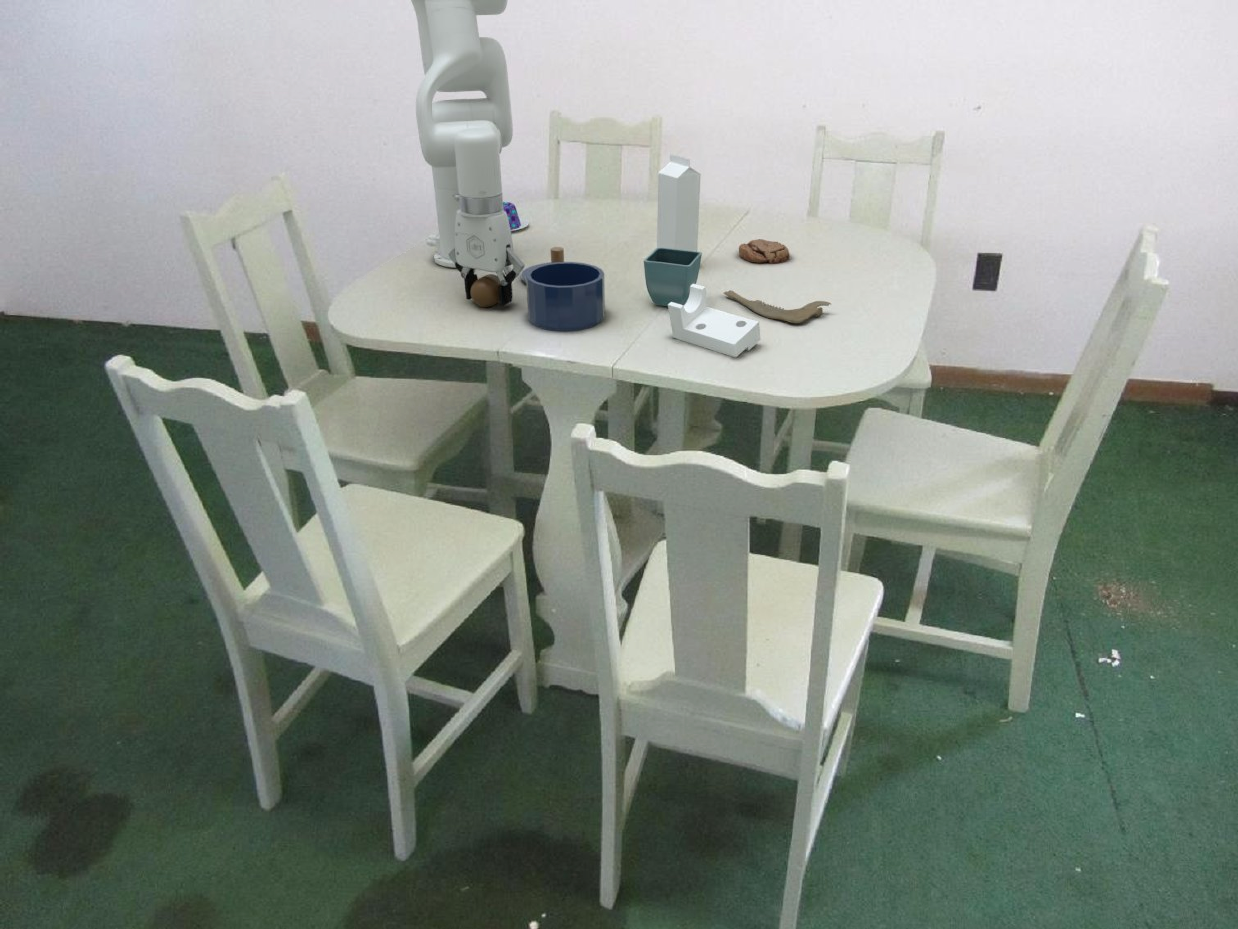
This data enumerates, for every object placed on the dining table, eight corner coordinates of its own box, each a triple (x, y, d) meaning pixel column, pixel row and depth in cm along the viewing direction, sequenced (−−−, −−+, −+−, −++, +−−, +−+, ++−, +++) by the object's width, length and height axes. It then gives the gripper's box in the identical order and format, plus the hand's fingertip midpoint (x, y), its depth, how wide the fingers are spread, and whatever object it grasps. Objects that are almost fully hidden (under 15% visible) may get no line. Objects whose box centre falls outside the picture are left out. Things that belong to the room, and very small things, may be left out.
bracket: (673, 342, 156) (667, 304, 151) (698, 320, 159) (693, 283, 154) (736, 362, 148) (732, 323, 143) (760, 339, 152) (757, 301, 147)
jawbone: (816, 332, 158) (817, 321, 157) (706, 314, 166) (706, 304, 165) (830, 311, 164) (831, 300, 163) (724, 295, 173) (724, 285, 171)
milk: (674, 273, 184) (677, 161, 173) (656, 265, 188) (657, 155, 177) (697, 267, 187) (701, 156, 176) (678, 259, 191) (681, 151, 180)
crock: (513, 323, 161) (511, 279, 157) (553, 299, 171) (552, 257, 167) (580, 336, 155) (579, 292, 151) (617, 310, 166) (617, 268, 162)
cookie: (791, 264, 188) (792, 250, 187) (740, 264, 189) (741, 249, 187) (785, 249, 197) (787, 236, 195) (736, 249, 197) (737, 235, 196)
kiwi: (490, 313, 165) (488, 284, 162) (466, 308, 167) (463, 280, 164) (514, 299, 171) (512, 271, 168) (490, 295, 173) (488, 267, 170)
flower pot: (700, 297, 172) (702, 251, 167) (688, 313, 164) (690, 265, 160) (656, 292, 174) (657, 246, 169) (642, 308, 167) (642, 260, 162)
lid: (507, 284, 178) (505, 253, 175) (545, 263, 189) (544, 234, 186) (571, 296, 172) (570, 264, 169) (607, 273, 184) (607, 243, 180)
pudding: (512, 236, 206) (510, 213, 203) (467, 230, 210) (465, 207, 208) (538, 223, 215) (537, 201, 213) (495, 217, 220) (493, 195, 217)
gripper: (428, 202, 160) (439, 299, 169) (511, 214, 153) (517, 314, 162) (453, 193, 166) (462, 287, 175) (534, 204, 159) (539, 301, 168)
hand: (489, 299), depth 168 cm, fingers open, 6 cm apart
